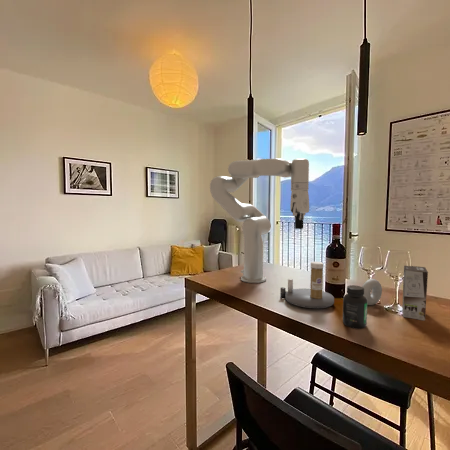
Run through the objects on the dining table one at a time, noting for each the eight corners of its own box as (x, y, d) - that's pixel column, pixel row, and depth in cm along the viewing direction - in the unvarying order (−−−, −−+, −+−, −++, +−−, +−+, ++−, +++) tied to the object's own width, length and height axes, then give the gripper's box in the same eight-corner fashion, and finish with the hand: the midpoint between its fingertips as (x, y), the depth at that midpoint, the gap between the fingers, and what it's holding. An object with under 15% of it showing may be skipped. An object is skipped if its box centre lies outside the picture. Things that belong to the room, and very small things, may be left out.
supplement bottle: (371, 328, 84) (372, 290, 84) (351, 330, 83) (352, 291, 82) (357, 319, 91) (358, 283, 90) (338, 320, 90) (339, 284, 89)
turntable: (340, 298, 108) (341, 282, 107) (323, 312, 94) (323, 293, 93) (293, 288, 121) (293, 273, 120) (272, 299, 107) (272, 282, 106)
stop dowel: (279, 297, 112) (279, 288, 112) (282, 296, 114) (282, 287, 113) (282, 299, 111) (283, 289, 110) (286, 298, 112) (286, 288, 112)
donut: (366, 308, 100) (367, 281, 99) (358, 305, 103) (358, 279, 102) (383, 304, 105) (384, 278, 104) (375, 301, 108) (376, 276, 107)
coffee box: (425, 321, 89) (428, 272, 88) (402, 317, 93) (404, 269, 91) (423, 311, 97) (425, 266, 96) (401, 308, 100) (403, 264, 99)
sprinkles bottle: (315, 299, 102) (316, 264, 101) (307, 296, 106) (308, 261, 105) (325, 298, 103) (326, 263, 102) (317, 294, 108) (317, 260, 107)
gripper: (300, 186, 114) (299, 230, 115) (314, 187, 125) (313, 228, 127) (283, 187, 118) (283, 229, 120) (299, 188, 130) (298, 227, 131)
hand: (299, 228), depth 123 cm, fingers closed
